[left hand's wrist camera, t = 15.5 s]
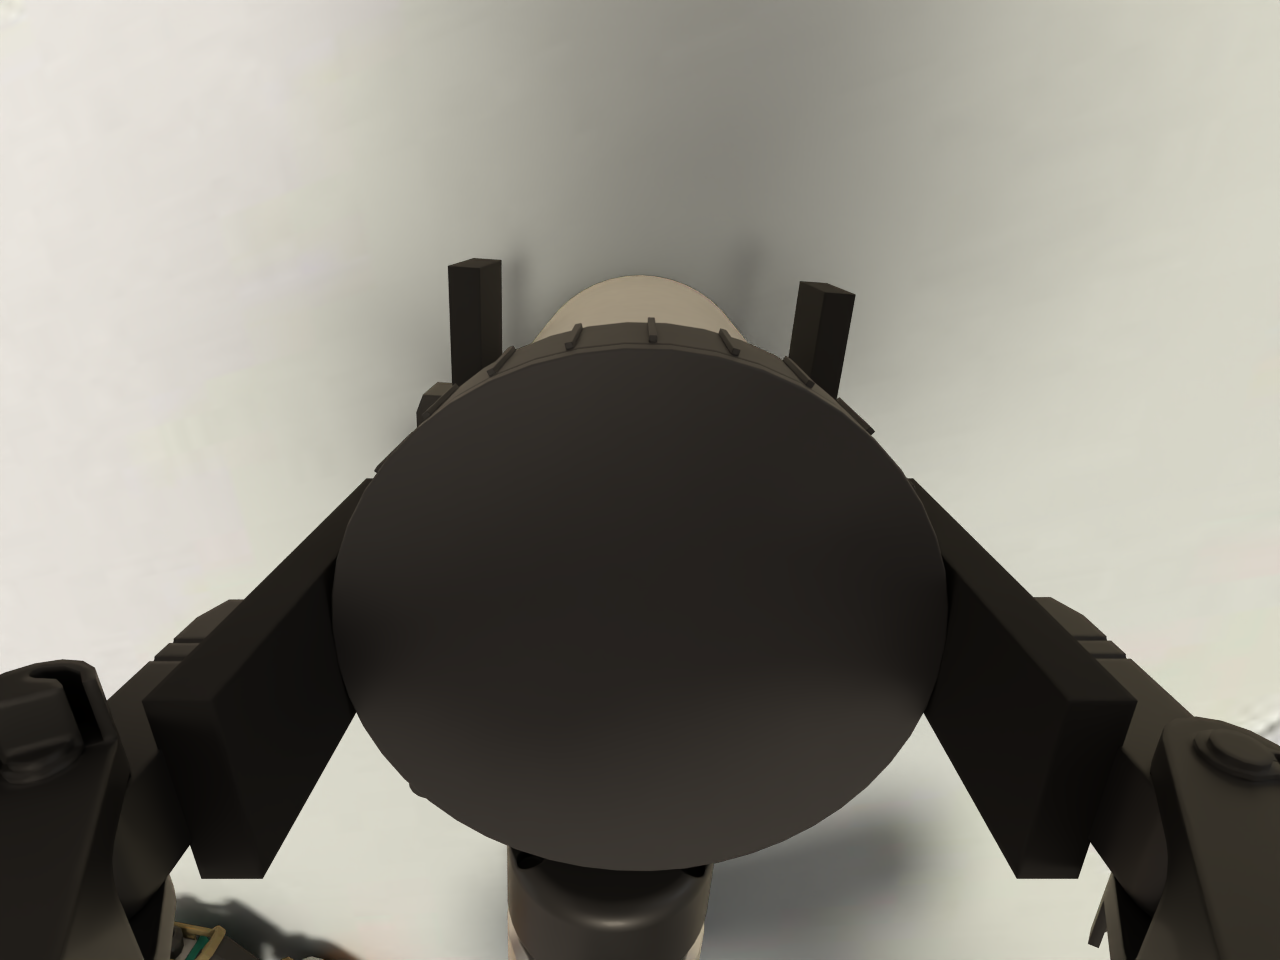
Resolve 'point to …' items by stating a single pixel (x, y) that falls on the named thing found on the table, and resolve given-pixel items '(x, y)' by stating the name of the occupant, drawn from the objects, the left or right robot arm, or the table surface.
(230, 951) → the spray gun
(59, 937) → the left robot arm
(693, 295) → the jar
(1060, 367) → the table surface
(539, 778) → the lid
